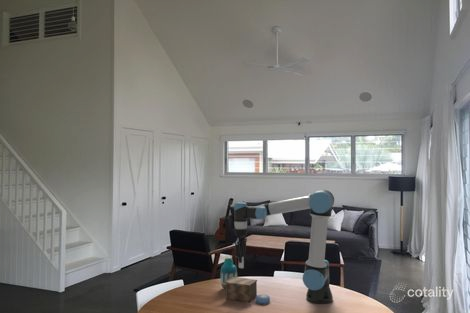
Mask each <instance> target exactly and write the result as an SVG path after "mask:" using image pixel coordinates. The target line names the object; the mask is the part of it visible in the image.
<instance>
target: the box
mask: <svg viewBox="0 0 470 313" xmlns="http://www.w3.org/2000/svg"><path fill="white" fill-rule="evenodd" d="M257 282H258V281H257ZM257 282H255V283H254V284H252V285H251V286H250V287H248V286H241V285H240V288H234V284H227V283H226V289H225V290H226V291H225V294H226V295H225V296H226V297H225V298H226V300H232V301H238V302H243V303H251V302H252V301H254V299H256V296H257V295H258V292H257V290H258V289H257V287H258V286H257V285H258V284H257Z"/></svg>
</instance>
